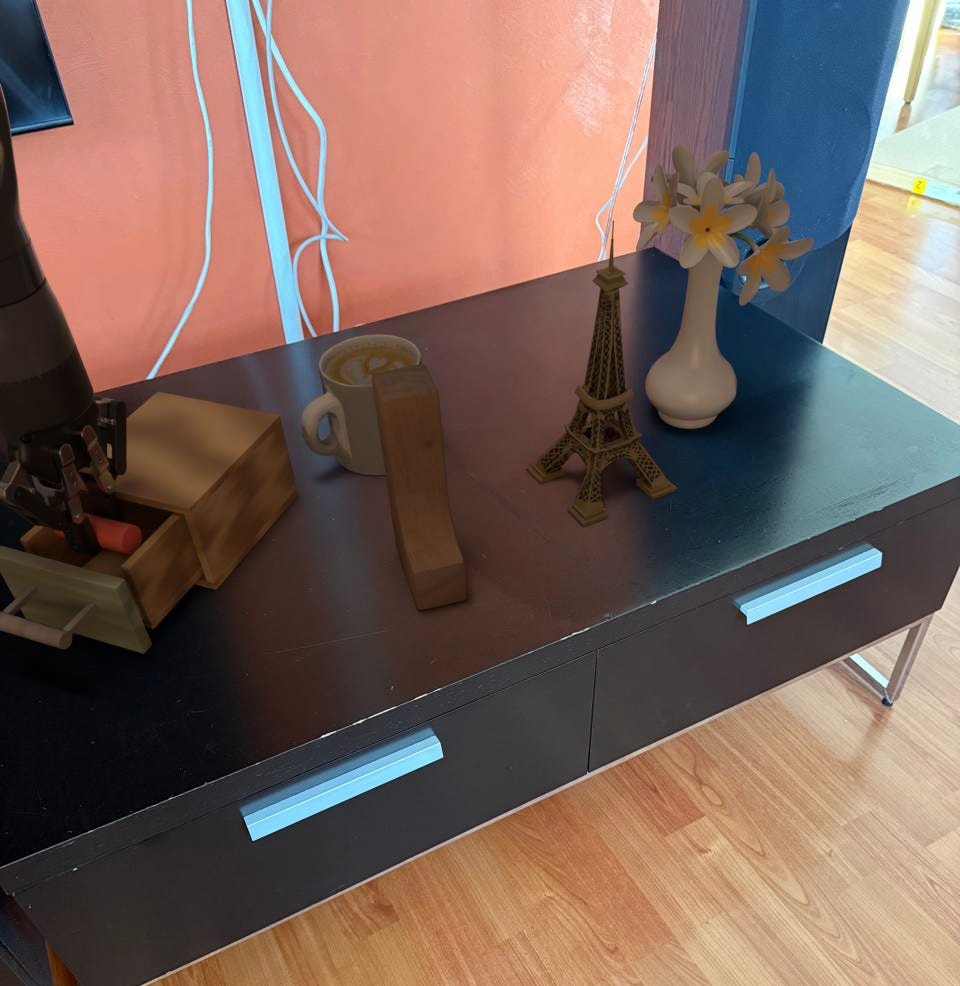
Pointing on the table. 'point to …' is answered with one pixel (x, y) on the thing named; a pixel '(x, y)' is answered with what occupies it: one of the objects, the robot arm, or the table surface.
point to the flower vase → (711, 273)
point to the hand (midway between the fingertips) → (101, 540)
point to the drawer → (100, 582)
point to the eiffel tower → (602, 414)
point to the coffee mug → (354, 399)
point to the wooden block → (418, 485)
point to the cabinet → (209, 474)
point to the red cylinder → (114, 534)
